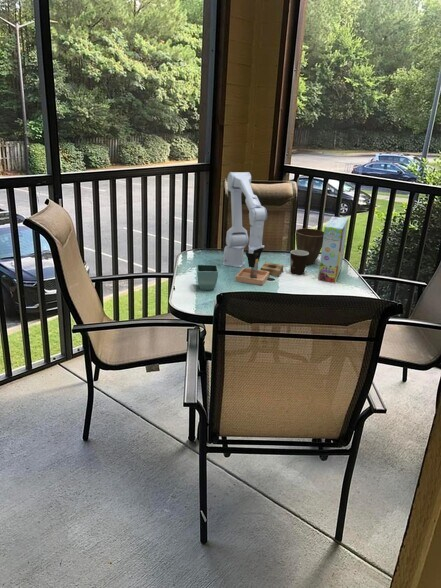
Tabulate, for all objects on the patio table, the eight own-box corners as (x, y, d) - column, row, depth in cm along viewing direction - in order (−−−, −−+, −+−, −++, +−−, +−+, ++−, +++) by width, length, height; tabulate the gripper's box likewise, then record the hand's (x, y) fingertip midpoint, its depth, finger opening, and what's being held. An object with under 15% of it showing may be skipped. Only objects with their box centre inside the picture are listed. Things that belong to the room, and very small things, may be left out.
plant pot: (295, 256, 243) (299, 226, 237) (323, 260, 238) (328, 230, 232) (289, 264, 230) (292, 233, 224) (318, 269, 225) (323, 237, 219)
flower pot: (195, 283, 199) (196, 264, 196) (215, 284, 200) (217, 264, 197) (196, 291, 191) (197, 271, 188) (217, 291, 192) (218, 271, 189)
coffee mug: (305, 276, 215) (308, 256, 211) (287, 274, 216) (289, 254, 212) (306, 268, 225) (309, 249, 221) (289, 266, 227) (291, 247, 223)
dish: (235, 280, 205) (235, 275, 204) (243, 272, 216) (243, 267, 215) (262, 285, 201) (262, 280, 200) (269, 276, 212) (269, 271, 211)
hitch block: (260, 273, 215) (260, 267, 214) (264, 268, 223) (265, 262, 222) (278, 276, 213) (279, 270, 211) (282, 270, 220) (283, 265, 219)
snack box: (324, 266, 230) (331, 215, 220) (341, 269, 227) (350, 218, 217) (316, 280, 211) (324, 225, 201) (335, 283, 209) (344, 228, 199)
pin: (249, 278, 207) (251, 259, 204) (250, 276, 210) (252, 257, 206) (256, 279, 207) (258, 260, 203) (257, 276, 209) (258, 258, 206)
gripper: (260, 240, 193) (258, 270, 198) (269, 232, 206) (266, 261, 211) (244, 238, 195) (242, 268, 200) (253, 230, 208) (251, 258, 213)
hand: (253, 264), depth 206 cm, fingers open, 7 cm apart
